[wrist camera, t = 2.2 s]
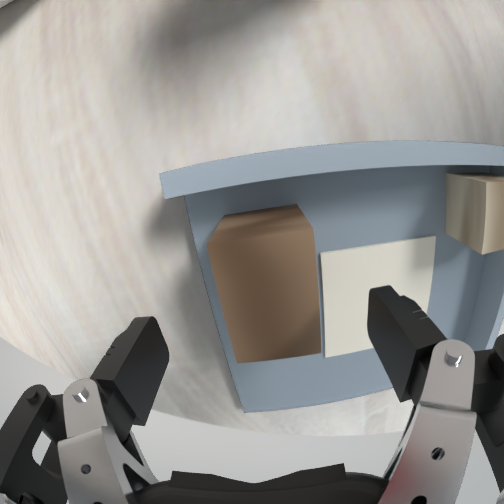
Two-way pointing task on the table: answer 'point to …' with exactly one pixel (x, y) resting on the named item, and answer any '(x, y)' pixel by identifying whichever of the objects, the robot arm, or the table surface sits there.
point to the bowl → (4, 2)
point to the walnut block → (267, 283)
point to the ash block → (475, 210)
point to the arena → (353, 253)
